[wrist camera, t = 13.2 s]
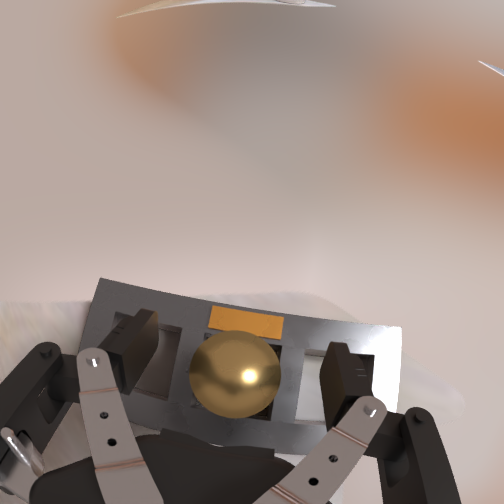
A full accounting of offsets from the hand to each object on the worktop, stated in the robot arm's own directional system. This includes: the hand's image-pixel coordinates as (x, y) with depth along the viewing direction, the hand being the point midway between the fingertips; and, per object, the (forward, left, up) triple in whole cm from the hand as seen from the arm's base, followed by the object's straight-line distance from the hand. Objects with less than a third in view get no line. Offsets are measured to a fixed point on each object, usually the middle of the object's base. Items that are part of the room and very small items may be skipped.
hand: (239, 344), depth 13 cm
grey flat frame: (0, -1, -10) cm, 10 cm away
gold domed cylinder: (0, -1, -10) cm, 10 cm away
